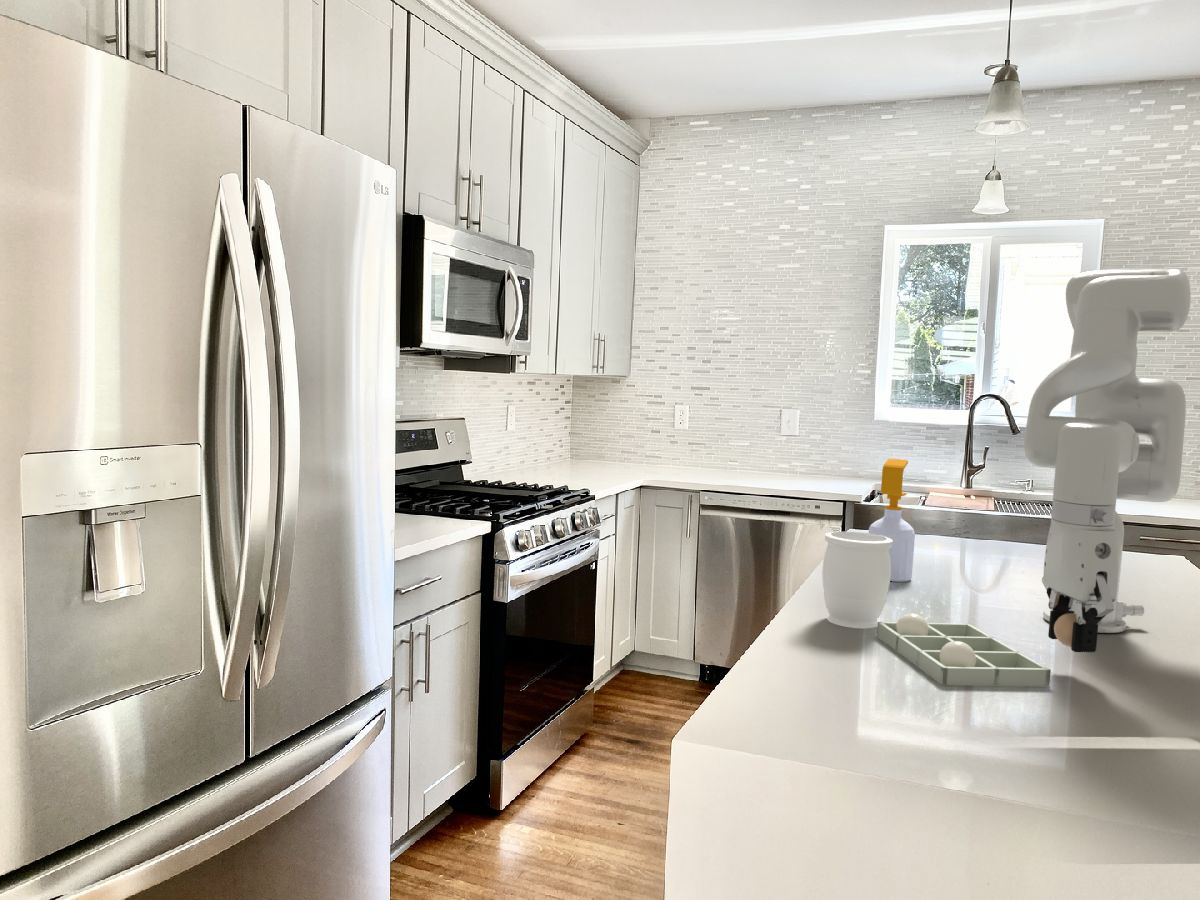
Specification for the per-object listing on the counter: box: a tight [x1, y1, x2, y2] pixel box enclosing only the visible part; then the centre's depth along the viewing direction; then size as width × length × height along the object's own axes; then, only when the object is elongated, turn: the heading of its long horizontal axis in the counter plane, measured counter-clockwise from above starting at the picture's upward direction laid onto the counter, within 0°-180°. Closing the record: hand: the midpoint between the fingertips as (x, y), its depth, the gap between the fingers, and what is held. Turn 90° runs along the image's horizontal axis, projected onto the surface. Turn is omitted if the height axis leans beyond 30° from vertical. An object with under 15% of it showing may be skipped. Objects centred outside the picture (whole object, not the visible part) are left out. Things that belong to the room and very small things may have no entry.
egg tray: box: [876, 621, 1052, 688], centre depth 127 cm, size 15×22×3 cm
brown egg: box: [1054, 613, 1077, 648], centre depth 122 cm, size 5×5×5 cm
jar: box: [821, 531, 893, 629], centre depth 144 cm, size 11×10×15 cm
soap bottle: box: [868, 458, 916, 583], centre depth 184 cm, size 9×9×25 cm
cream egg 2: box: [939, 641, 976, 667], centre depth 119 cm, size 5×5×5 cm
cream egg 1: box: [896, 612, 929, 636], centre depth 133 cm, size 5×5×5 cm
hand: (1071, 643), depth 123 cm, fingers closed on brown egg, 4 cm apart
